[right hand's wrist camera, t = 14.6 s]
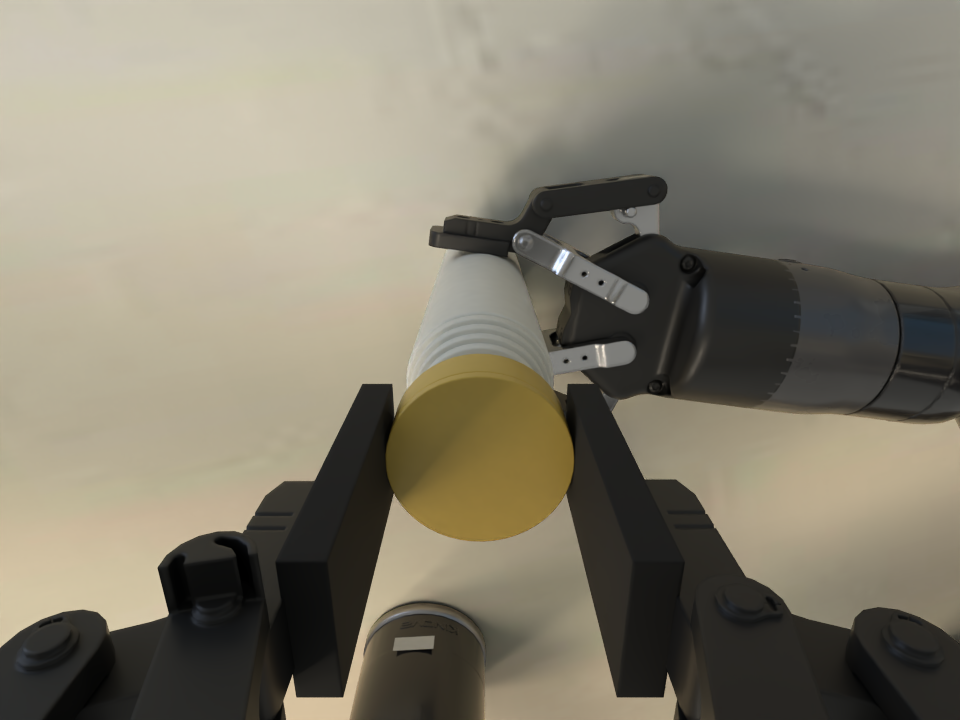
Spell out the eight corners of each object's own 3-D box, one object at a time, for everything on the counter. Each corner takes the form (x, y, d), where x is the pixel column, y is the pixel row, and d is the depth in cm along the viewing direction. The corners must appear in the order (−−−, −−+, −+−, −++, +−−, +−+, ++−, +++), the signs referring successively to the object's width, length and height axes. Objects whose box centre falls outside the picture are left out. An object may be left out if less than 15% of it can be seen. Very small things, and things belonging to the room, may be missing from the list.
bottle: (433, 295, 35) (365, 508, 14) (453, 220, 33) (409, 340, 13) (505, 315, 35) (540, 550, 15) (528, 243, 33) (603, 393, 13)
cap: (552, 511, 16) (559, 548, 14) (390, 498, 15) (381, 534, 14) (578, 361, 14) (589, 386, 13) (398, 344, 14) (388, 368, 12)
